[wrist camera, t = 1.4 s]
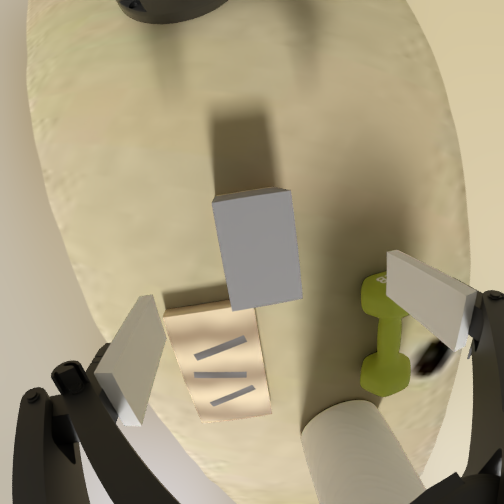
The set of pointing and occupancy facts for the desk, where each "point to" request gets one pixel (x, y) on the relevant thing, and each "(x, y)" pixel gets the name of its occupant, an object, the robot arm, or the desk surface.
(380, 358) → the dumbbell
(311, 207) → the desk surface
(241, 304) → the block
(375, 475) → the vase
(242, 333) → the board
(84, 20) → the desk surface
